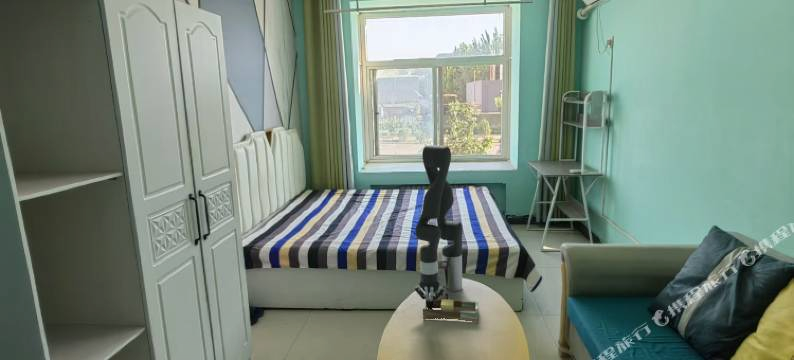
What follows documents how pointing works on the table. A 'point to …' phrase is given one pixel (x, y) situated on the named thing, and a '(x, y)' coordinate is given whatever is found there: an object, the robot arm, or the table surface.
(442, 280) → the coffee box
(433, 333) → the table surface
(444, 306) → the ochre block
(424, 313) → the channel
